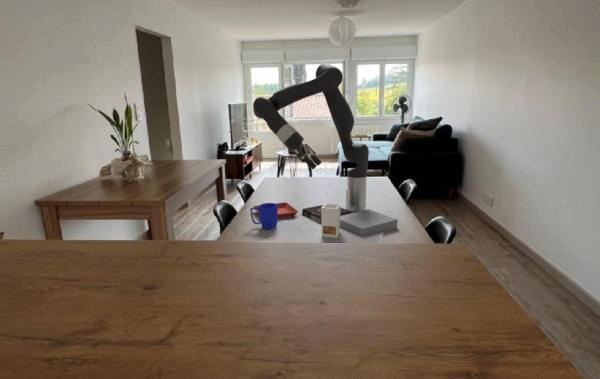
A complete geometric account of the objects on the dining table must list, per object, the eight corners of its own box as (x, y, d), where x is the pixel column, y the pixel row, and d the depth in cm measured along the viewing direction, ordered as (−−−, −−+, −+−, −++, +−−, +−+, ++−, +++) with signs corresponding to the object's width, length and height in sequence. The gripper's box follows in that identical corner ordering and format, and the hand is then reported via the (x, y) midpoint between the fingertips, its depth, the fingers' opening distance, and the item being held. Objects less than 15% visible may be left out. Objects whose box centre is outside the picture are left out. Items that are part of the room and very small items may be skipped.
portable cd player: (301, 216, 181) (301, 209, 180) (331, 211, 189) (331, 203, 188) (320, 226, 167) (319, 218, 166) (350, 219, 175) (350, 211, 174)
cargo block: (325, 235, 152) (325, 226, 151) (327, 232, 156) (327, 222, 155) (334, 236, 151) (334, 226, 150) (336, 232, 155) (336, 223, 154)
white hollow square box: (321, 238, 152) (321, 207, 149) (325, 233, 158) (325, 203, 155) (337, 239, 150) (337, 208, 147) (340, 234, 156) (340, 204, 153)
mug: (251, 224, 170) (250, 203, 167) (278, 223, 171) (277, 202, 168) (250, 231, 162) (249, 209, 159) (278, 229, 163) (277, 207, 160)
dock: (334, 225, 166) (334, 217, 165) (368, 217, 176) (368, 209, 175) (362, 238, 151) (362, 228, 150) (397, 228, 162) (397, 219, 161)
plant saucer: (286, 207, 196) (286, 201, 195) (298, 217, 179) (298, 211, 179) (252, 212, 190) (252, 205, 189) (262, 222, 173) (262, 216, 172)
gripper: (290, 132, 143) (319, 162, 143) (300, 129, 157) (327, 156, 156) (278, 145, 146) (306, 175, 146) (289, 141, 159) (315, 168, 159)
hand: (317, 166), depth 151 cm, fingers open, 8 cm apart
